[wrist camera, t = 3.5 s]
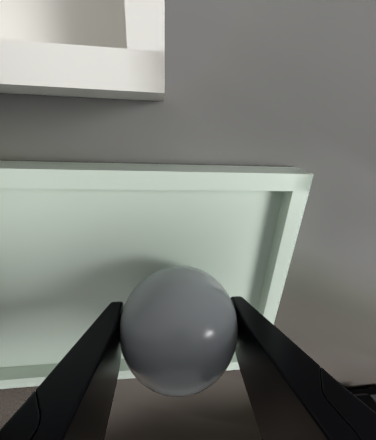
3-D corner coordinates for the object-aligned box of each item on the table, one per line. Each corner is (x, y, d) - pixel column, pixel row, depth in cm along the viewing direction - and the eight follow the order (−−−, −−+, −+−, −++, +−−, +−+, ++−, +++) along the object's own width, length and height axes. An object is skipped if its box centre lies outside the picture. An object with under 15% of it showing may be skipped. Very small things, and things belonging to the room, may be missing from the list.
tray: (253, 346, 13) (262, 367, 12) (-113, 372, 11) (-144, 400, 10) (295, 166, 9) (313, 174, 8) (-281, 154, 7) (-366, 161, 6)
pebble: (217, 317, 11) (245, 418, 7) (130, 322, 10) (114, 433, 7) (226, 243, 9) (269, 327, 6) (124, 246, 9) (98, 338, 5)
